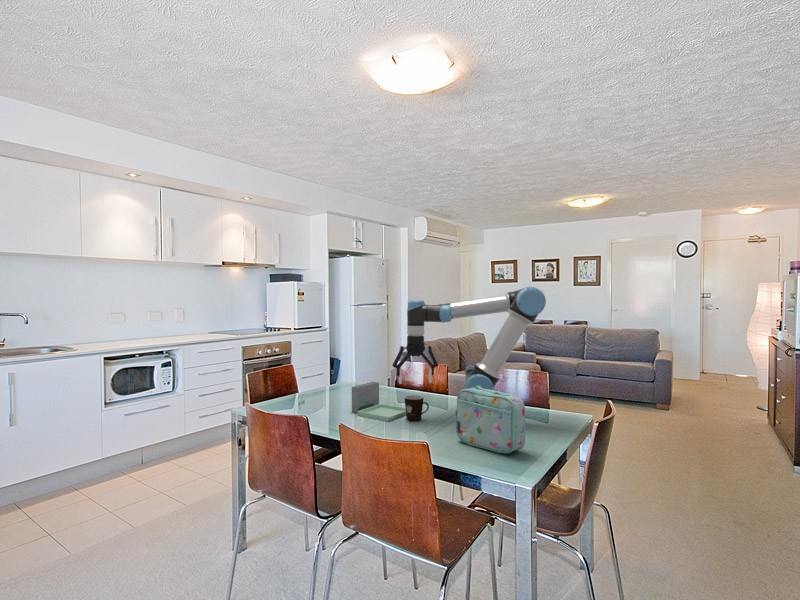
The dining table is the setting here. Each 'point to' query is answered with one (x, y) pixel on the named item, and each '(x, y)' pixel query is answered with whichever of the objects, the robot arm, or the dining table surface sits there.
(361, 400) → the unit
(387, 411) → the tray
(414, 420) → the coffee mug
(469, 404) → the lunch box
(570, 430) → the dining table surface
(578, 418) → the dining table surface
